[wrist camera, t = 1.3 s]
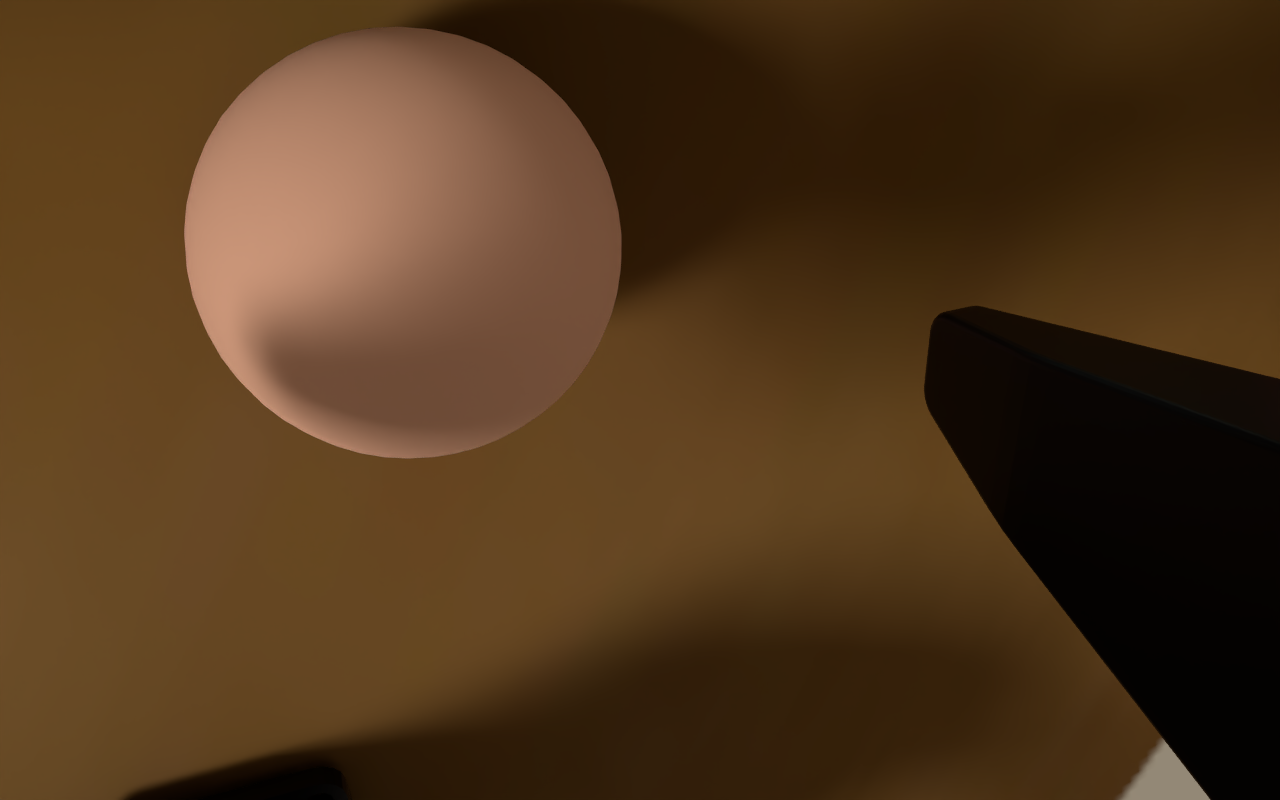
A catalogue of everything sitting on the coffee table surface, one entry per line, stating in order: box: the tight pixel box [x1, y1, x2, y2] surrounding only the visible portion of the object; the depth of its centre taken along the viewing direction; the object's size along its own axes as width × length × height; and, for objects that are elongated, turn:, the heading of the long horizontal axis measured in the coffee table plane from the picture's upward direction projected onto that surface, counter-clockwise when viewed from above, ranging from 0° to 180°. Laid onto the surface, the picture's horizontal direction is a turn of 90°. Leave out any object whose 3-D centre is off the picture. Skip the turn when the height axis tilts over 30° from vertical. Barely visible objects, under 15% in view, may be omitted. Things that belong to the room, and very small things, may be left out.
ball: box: [184, 27, 622, 458], centre depth 13 cm, size 5×5×5 cm
